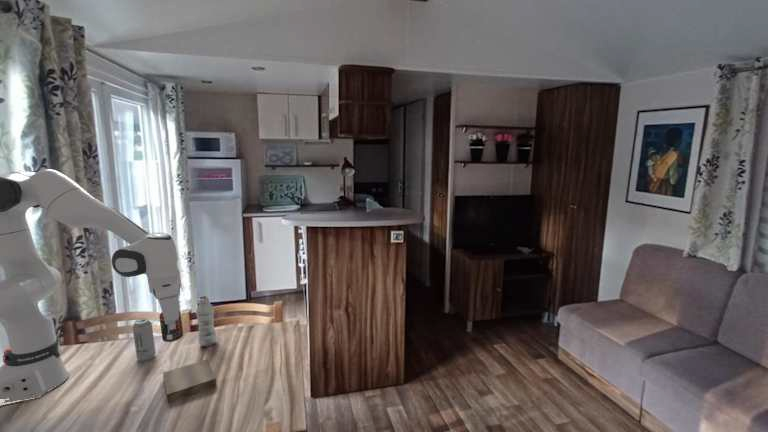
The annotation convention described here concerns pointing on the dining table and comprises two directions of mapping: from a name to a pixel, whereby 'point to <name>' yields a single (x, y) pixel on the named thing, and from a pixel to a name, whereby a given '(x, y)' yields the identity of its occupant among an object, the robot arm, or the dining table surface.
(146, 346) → the energy drink can
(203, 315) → the plastic bottle
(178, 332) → the supplement bottle
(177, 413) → the dining table surface
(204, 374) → the beige flat square block
